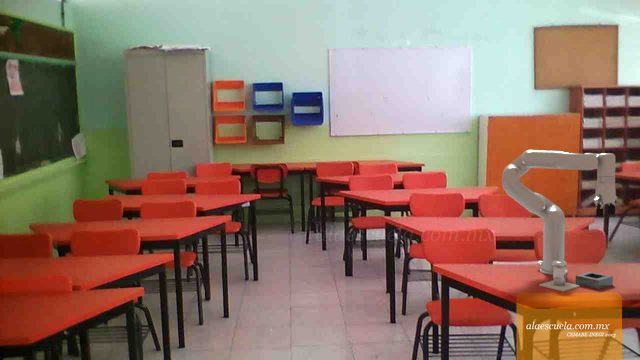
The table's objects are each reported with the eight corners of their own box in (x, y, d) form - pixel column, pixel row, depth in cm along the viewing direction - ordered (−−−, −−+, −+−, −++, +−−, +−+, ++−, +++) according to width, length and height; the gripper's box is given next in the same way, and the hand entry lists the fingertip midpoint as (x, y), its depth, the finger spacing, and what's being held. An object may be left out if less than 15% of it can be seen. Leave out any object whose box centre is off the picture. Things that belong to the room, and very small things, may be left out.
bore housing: (575, 284, 269) (575, 275, 269) (589, 280, 275) (590, 271, 275) (598, 289, 260) (598, 280, 260) (612, 285, 266) (612, 276, 266)
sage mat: (539, 285, 268) (539, 284, 268) (555, 281, 275) (555, 279, 275) (562, 291, 258) (562, 290, 258) (579, 286, 265) (579, 285, 265)
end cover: (549, 284, 267) (549, 261, 267) (557, 282, 271) (557, 259, 270) (561, 287, 262) (561, 264, 262) (569, 285, 266) (569, 262, 265)
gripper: (609, 177, 288) (608, 212, 290) (587, 180, 279) (587, 216, 280) (624, 178, 282) (623, 214, 283) (603, 181, 272) (602, 218, 274)
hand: (605, 215), depth 282 cm, fingers open, 9 cm apart
